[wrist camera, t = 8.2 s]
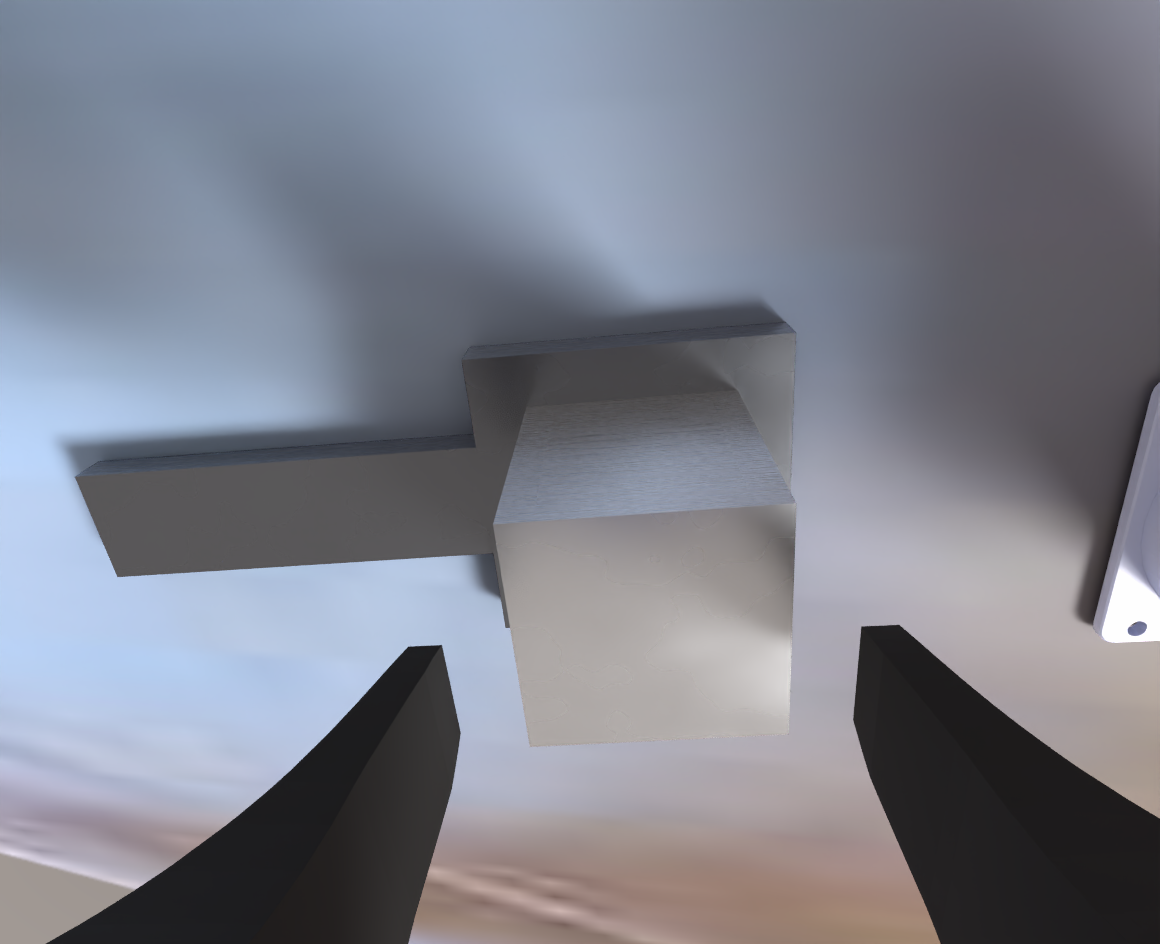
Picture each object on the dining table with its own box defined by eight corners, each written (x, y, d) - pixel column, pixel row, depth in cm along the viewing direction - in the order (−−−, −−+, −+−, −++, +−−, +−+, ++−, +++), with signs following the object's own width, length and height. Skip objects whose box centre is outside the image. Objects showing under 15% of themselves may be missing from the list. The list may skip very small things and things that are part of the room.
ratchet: (784, 320, 18) (832, 370, 14) (777, 588, 21) (814, 685, 18) (65, 380, 19) (-67, 439, 16) (164, 623, 23) (75, 722, 19)
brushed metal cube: (737, 390, 18) (796, 503, 12) (738, 570, 20) (788, 734, 14) (526, 407, 18) (492, 524, 13) (549, 582, 20) (530, 746, 15)
